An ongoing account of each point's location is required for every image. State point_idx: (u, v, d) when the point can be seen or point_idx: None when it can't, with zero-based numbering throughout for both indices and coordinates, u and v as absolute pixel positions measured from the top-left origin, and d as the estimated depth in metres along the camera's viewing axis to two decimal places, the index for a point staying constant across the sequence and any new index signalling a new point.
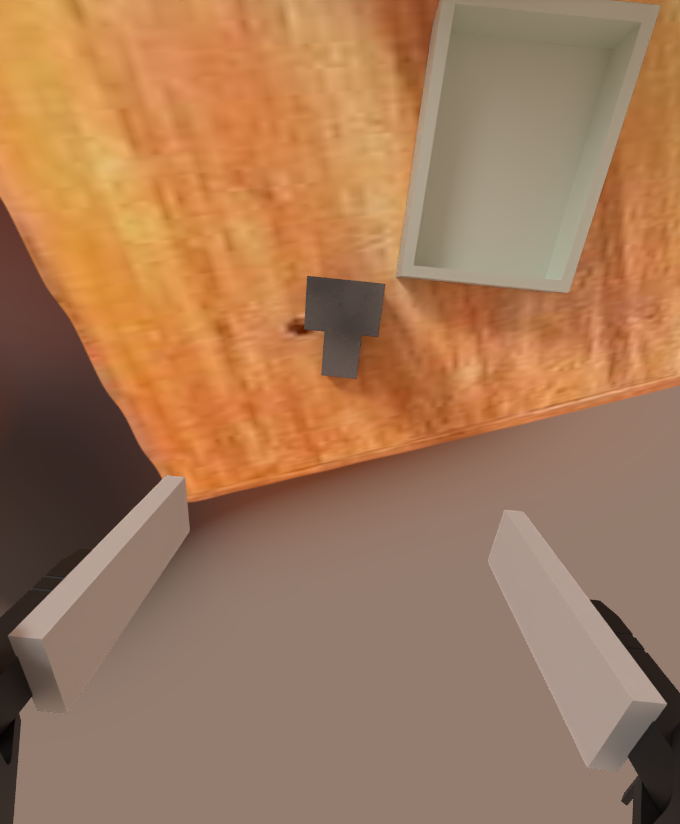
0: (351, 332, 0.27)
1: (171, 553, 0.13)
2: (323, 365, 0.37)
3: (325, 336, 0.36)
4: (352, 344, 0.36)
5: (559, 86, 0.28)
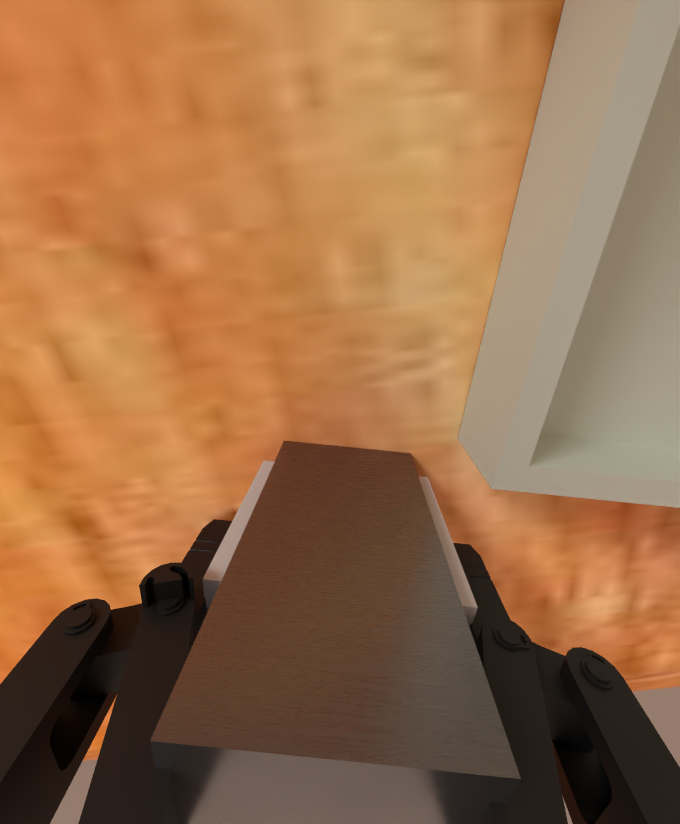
0: None
1: None
2: None
3: None
4: None
5: None
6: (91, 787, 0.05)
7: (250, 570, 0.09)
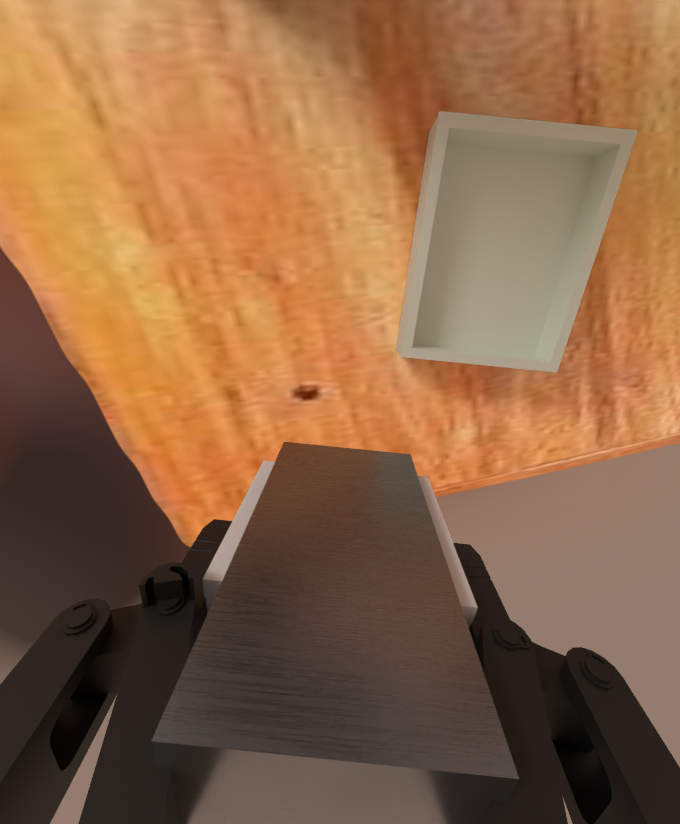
0: None
1: None
2: None
3: None
4: None
5: (547, 188, 0.31)
6: (91, 787, 0.05)
7: (250, 571, 0.09)
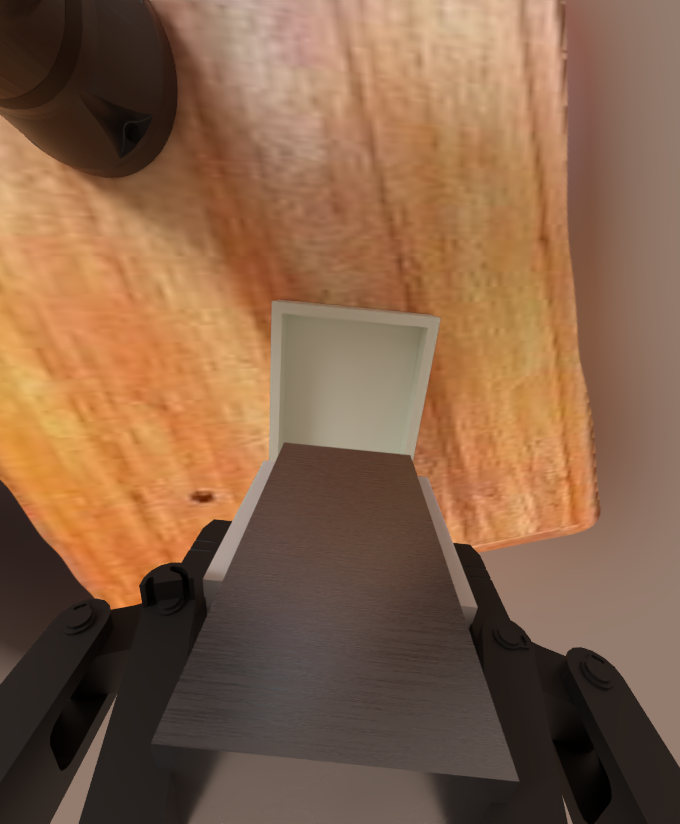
0: None
1: None
2: None
3: None
4: None
5: (384, 346, 0.35)
6: (91, 787, 0.05)
7: (250, 573, 0.09)
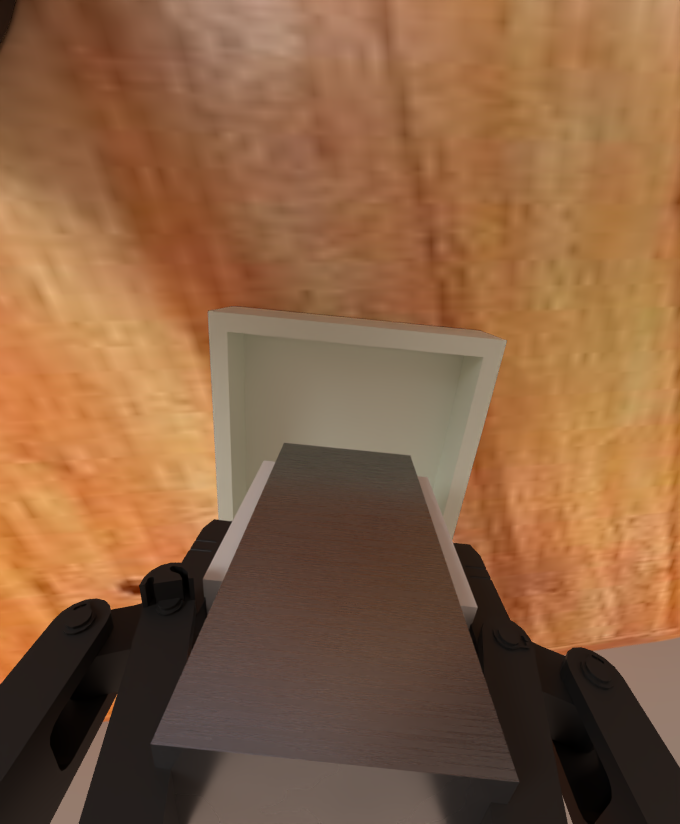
0: None
1: None
2: None
3: None
4: None
5: (403, 382, 0.22)
6: (91, 787, 0.05)
7: (250, 573, 0.09)
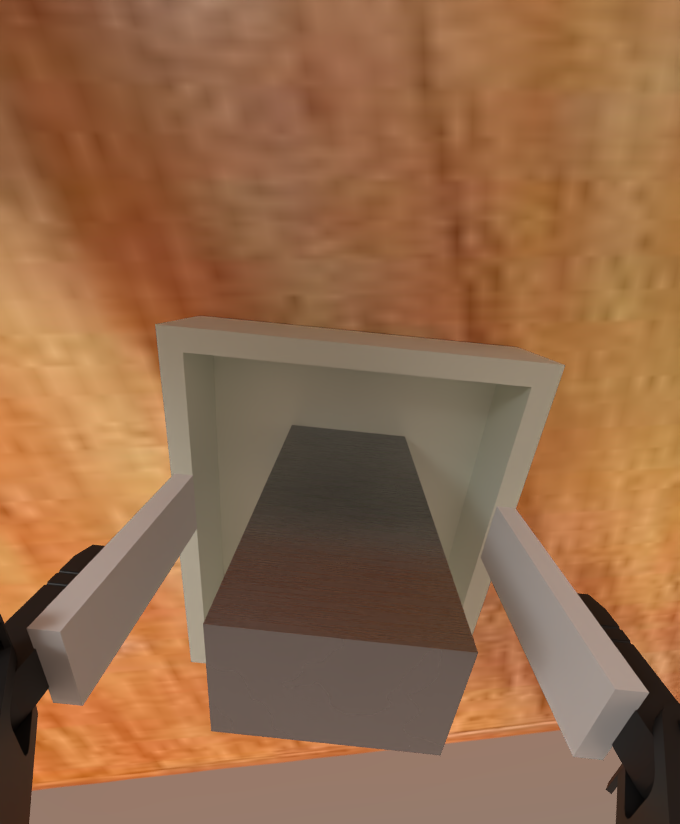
0: (357, 744, 0.09)
1: (179, 550, 0.13)
2: None
3: None
4: None
5: (417, 413, 0.17)
6: None
7: (268, 520, 0.10)
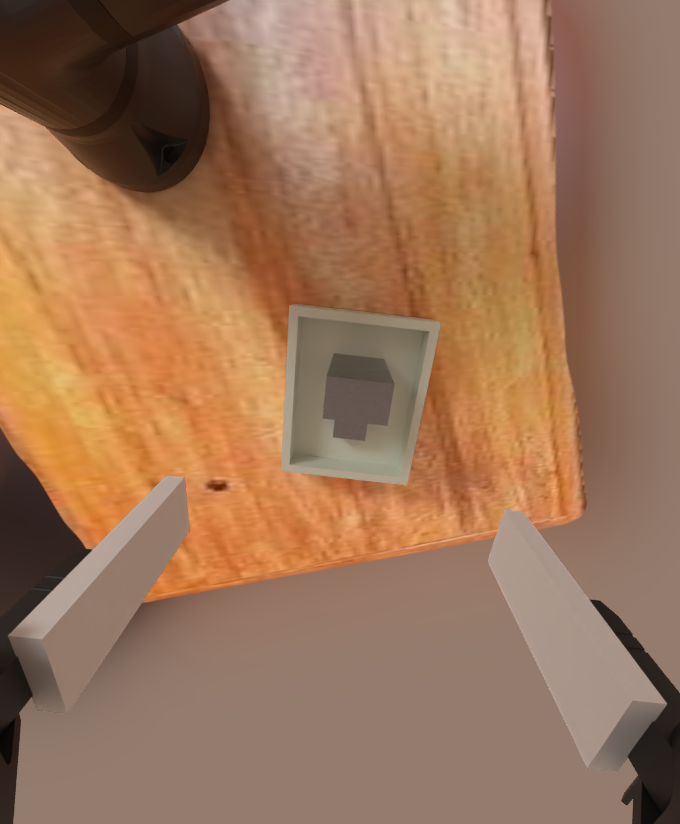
0: (363, 421, 0.30)
1: (171, 553, 0.13)
2: (334, 429, 0.40)
3: None
4: None
5: (389, 348, 0.39)
6: None
7: (335, 367, 0.32)
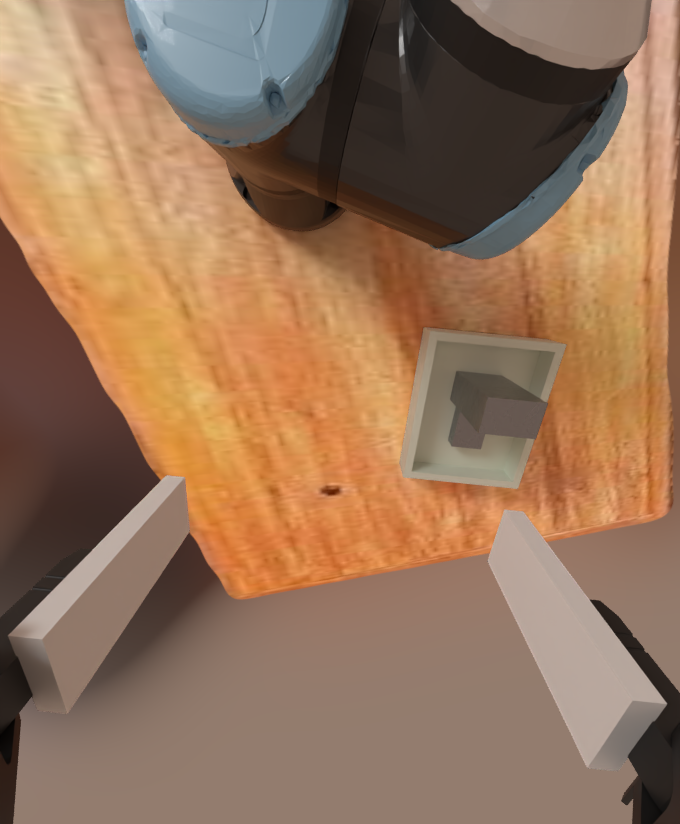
0: (515, 436, 0.34)
1: (171, 553, 0.13)
2: (454, 439, 0.45)
3: (459, 417, 0.43)
4: None
5: (508, 365, 0.43)
6: None
7: (481, 387, 0.36)
